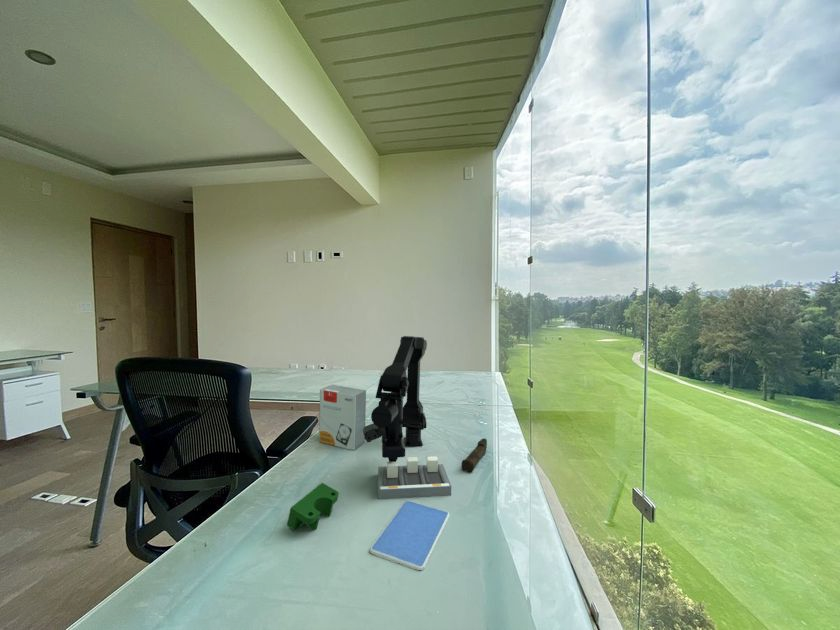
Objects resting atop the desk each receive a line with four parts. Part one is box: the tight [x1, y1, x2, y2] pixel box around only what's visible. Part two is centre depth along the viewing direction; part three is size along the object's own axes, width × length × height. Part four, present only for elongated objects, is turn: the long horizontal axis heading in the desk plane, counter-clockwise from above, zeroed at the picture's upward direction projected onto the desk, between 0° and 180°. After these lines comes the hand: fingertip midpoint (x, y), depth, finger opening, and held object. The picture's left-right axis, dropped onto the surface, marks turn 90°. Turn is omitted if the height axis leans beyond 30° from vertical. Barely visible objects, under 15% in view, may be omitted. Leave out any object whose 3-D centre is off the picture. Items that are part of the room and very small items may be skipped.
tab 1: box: [386, 461, 399, 478], centre depth 96 cm, size 2×3×4 cm
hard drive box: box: [318, 384, 367, 451], centre depth 122 cm, size 16×8×20 cm, turn 68°
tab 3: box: [426, 456, 439, 472], centre depth 99 cm, size 2×3×4 cm
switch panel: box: [377, 463, 452, 500], centre depth 96 cm, size 12×20×3 cm, turn 97°
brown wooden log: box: [461, 438, 488, 473], centre depth 112 cm, size 19×4×5 cm, turn 149°
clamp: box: [286, 482, 339, 532], centre depth 80 cm, size 12×6×9 cm, turn 151°
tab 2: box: [406, 456, 419, 473], centre depth 99 cm, size 2×3×4 cm
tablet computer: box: [369, 500, 450, 571], centre depth 77 cm, size 19×13×1 cm, turn 158°
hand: (391, 466), depth 98 cm, fingers closed
